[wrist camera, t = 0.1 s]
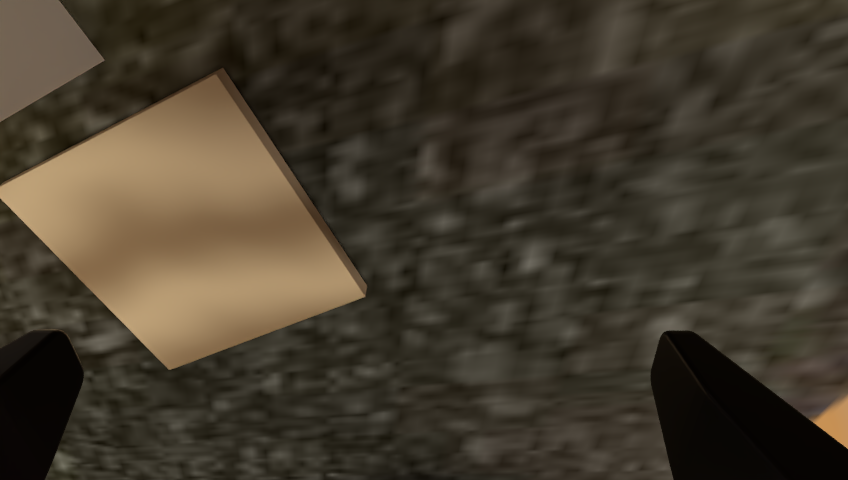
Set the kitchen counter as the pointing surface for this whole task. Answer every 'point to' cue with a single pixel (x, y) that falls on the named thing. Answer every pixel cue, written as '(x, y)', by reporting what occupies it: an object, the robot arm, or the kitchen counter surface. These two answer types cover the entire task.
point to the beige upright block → (39, 51)
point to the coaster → (188, 225)
